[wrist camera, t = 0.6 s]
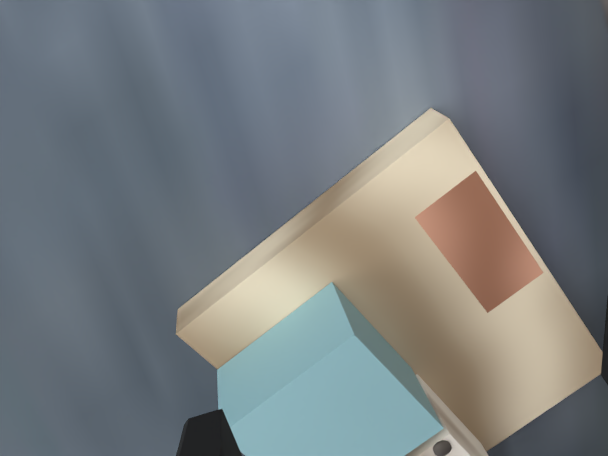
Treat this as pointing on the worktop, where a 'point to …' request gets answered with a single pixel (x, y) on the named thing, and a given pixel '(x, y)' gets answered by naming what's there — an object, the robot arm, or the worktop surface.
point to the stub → (324, 388)
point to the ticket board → (418, 288)
